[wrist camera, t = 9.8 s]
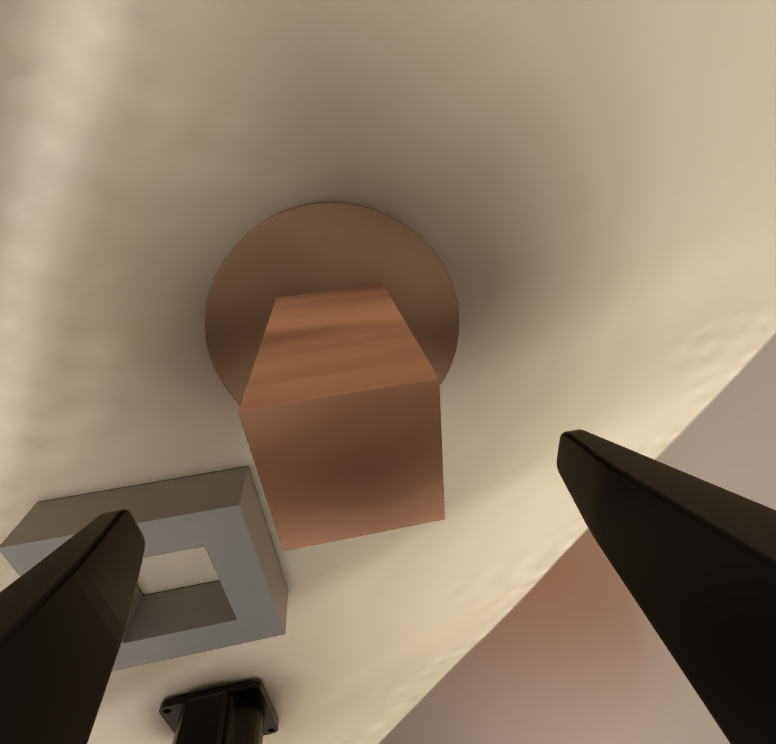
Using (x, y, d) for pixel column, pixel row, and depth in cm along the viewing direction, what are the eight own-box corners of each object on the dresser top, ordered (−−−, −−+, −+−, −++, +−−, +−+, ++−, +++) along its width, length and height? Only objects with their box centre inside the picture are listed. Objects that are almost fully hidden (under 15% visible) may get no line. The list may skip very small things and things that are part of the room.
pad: (453, 411, 19) (459, 422, 19) (247, 444, 18) (243, 458, 18) (450, 189, 15) (458, 189, 14) (175, 218, 14) (166, 221, 13)
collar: (288, 590, 23) (285, 634, 21) (119, 625, 22) (98, 674, 20) (248, 466, 19) (239, 504, 17) (37, 502, 18) (-3, 548, 16)
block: (391, 375, 17) (444, 518, 10) (298, 390, 16) (283, 551, 9) (382, 283, 15) (439, 378, 8) (276, 297, 15) (238, 411, 8)
